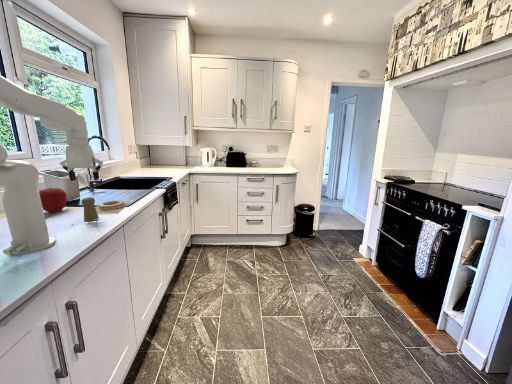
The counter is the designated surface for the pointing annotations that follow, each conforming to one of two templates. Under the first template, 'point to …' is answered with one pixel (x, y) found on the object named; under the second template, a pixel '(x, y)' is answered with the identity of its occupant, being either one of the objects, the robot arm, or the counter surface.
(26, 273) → the counter surface
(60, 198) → the apple
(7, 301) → the counter surface
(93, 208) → the cork
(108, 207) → the beech ring
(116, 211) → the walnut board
